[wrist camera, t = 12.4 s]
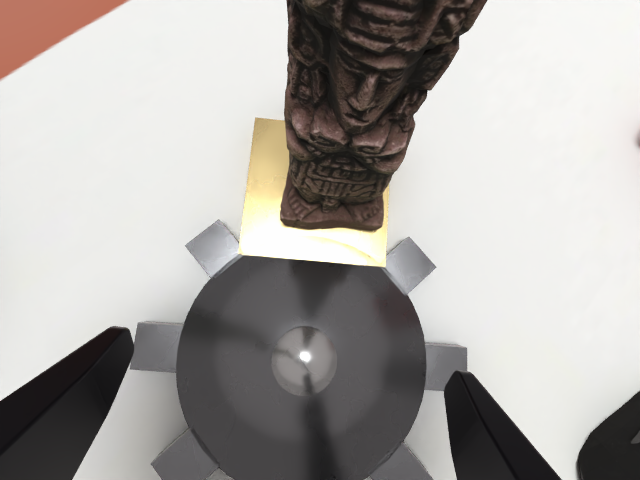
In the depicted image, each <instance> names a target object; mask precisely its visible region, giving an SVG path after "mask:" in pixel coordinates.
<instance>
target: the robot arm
mask: <svg viewBox="0 0 640 480" xmlns="http://www.w3.org/2000/svg"><path fill="white" fill-rule="evenodd" d="M133 354H134V343H133V340H132V337H131V333H130V330H129V329H128V328H125V327H118V326H112V327H110V328H108V329H106V330H105V331H103V332H102V333H100V334H99V335H97V336H96V337H94V338H93V339H91V340H90V341H89V342H87V343H86V344H84V345H83V346H81V347H80V348H78V349H77V350H75V351H74V352H72V353H71V354H69V355H68V356H66V357H65V358H63V359H62V360H60V361H59V362H57V363H56V364H54V365H53V366H51V367H50V368H49V369H47V370H46V371H44V372H43V373H41V374H40V375H38V376H37V377H35V378H34V379H32V380H31V381H29V382H28V383H26V384H25V385H23V386H22V387H20V388H19V389H17V390H16V391H14V392H13V393H12V394H10V395H9V396H7V397H6V398H4V399H3V400H1V401H0V480H72V479H73V477H74V475H75V473H76V472H77V470H78V468H79V466H80V464H81V462H82V461H83V459H84V457H85V455H86V453H87V451H88V450H89V448H90V446H91V444H92V442H93V440H94V439H95V437H96V435H97V433H98V431H99V429H100V428H101V426H102V424H103V422H104V420H105V418H106V416H107V414H108V413H109V410H110V408H111V406H112V404H113V402H114V399H115V397H116V395H117V392H118V390H119V387H120V385H121V383H122V380H123V378H124V376H125V373H126V371H127V368H128V366H129V364H130V361H131V359H132V357H133ZM444 398H445V406H446V414H447V423H448V431H449V439H450V447H451V453H452V458H453V463H454V468H455V472H456V477H457V480H562V479H561V478H560V477H559V476H558V475H557V474H556V472H555V471H554V470H553V469H552V468H551V466H550V465H549V464H548V463H547V462H546V460H545V459H544V458H543V457H542V456H541V454H540V453H539V452H538V451H537V450H536V449H535V447H534V446H533V445H532V444H531V443H530V441H529V440H528V439H527V438H526V437H525V435H524V434H523V433H522V432H521V431H520V429H519V428H518V427H517V426H516V425H515V424H514V422H513V421H512V420H511V419H510V418H509V416H508V415H507V414H506V413H505V412H504V410H503V409H502V408H501V407H500V406H499V404H498V403H497V402H496V401H495V400H494V399H493V397H492V396H491V395H490V394H489V393H488V391H487V390H486V389H485V388H484V387H483V385H482V384H481V383H480V382H479V381H478V379H477V378H476V377H475V376H474V375H473V374H472V373H471V372H468V371H461V370H456V371H454V372H453V374H452V376H451V377H450V379H449V380H448V382H447V384H446V385H445V388H444Z"/></svg>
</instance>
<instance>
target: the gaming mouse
mask: <svg viewBox="0 0 640 480" xmlns="http://www.w3.org/2000/svg"><path fill="white" fill-rule="evenodd" d="M579 467H580V473H581V479H582V480H640V391H639V392H638V393H637V394H635V395H634V396H633V397H632V398H631V399H630V400H629V401H628V402H626V403H625V404H624V405H623V406H622V407H621V408H619V409H618V410H617V411H616V412H614V413H613V414H612V415H611V416H609V417H608V418H607V419H605V420H604V421H603V422H602V423H601V424H600V425H599V426H598V427H597V428H596V429H594V430H593V431H592V432H591V433H590V435H589V437H588V438H587V440H586V442H585V443H584V445H583V447H582V449H581V451H580V453H579Z"/></svg>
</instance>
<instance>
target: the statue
mask: <svg viewBox="0 0 640 480" xmlns="http://www.w3.org/2000/svg"><path fill="white" fill-rule="evenodd" d="M486 2H487V0H287V11H288V24H289V26H288V57H289V63H288V65H287V72H288V79H287V88H286V91H285V108H284V116H285V129H286V142H287V149H288V150H289V169H288V174H287V178H286V186H285V189H284V192H283V197H282V201H281V204H280V208H281V210H280V221H282V222H283V224H284V225H286V226H292V227H297V228H303V229H326V228H335V227H347V228H354V229H358V230H370V231H372V230H378V229H380V228H381V227H382V226H383V220H384V201H383V192H384V191H385V189H386V188H387V186H388V184H389V182H390V180H391V177H392V175H393V174H394V172H395V171H397V169H398V168H399V166H400V164H401V163H402V161H403V159H404V157H405V154H406V150H407V147H408V145H409V142H410V139H411V136H412V134H413V131H414V128H415V122H414V119H413V115H414V114H415V113H416V112H417V111H418V109H419V108H420V106H421V105H422V103H423V102H424V101H425V99H426V97H427V90H432V88H433V87H434V86H435V84H436V83H437V82H438V80H439V79H440V78H441V76H442V75H443V73H444V72H445V71H446V69H447V68H448V67H449V65H450V63H451V62H452V60H453V58H454V56H455V55H456V53H457V51H458V50H459V36H460V35H462V34H464V33H465V32H467V31H469V29H470V28H471V27H472V26H473V24H474V22H475V20H476V19H477V17H478V15H479V14H480V12H481V10H482V9H483V7H484V5H485V3H486Z"/></svg>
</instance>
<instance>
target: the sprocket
mask: <svg viewBox="0 0 640 480" xmlns="http://www.w3.org/2000/svg"><path fill="white" fill-rule="evenodd" d="M288 169H289V150H288V149H287V142H286V129H285V121H282V120H273V119H263V118H255V124H254V132H253V140H252V148H251V156H250V164H249V172H248V180H247V187H246V195H245V203H244V211H243V219H242V227H241V235H240V243H239V242H238V241H237V240H236V238H235V237H234V236H233V235H232V234H231V232H230V231H229V230H228V229H227V228H226V226H225V225H224V224H223V223H222V222H221V221H220V220H217V221H216V222H215V223H214V224H212V225H211V226H210V227H208V228H207V229H206V230H204V231H203V232H202V233H200V234H199V235H198V236H197V237H195V238H194V239H193V240H191V241H190V242H189V243H187V244H186V245H185V246H186V248H187V249H188V250H189V251H190V253H191V254H192V255H193V256H194V257H195V259H196V260H197V261H198V262H199V264H200V265H201V266H202V267H203V269H204V270H205V271H206V272H207V274H208V275H209V276H210V277H211V279H210V280H209V281H208V282H207V283H206V285H205V286H204V287H203V289H202V290H201V292H200V293H199V295H198V296H197V298H196V299H195V301H194V303H193V305H192V307H191V309H190V311H189V313H188V315H187V317H186V320H185V323H184V324H174V323H161V322H148V321H146V322H140V323H138V325H137V331H136V336H135V342H134V354H133V357H132V359H131V365H130V369H133V370H148V371H162V372H176V377H177V388H178V394H179V400H180V404H181V407H182V410H183V413H184V417H185V419H186V422H187V424H188V426H189V428H188V429H187V430H186V431H185V432H184V433H183V434H182V435H180V436H179V437H178V438H177V439H176V440H175V441H174V442H172V443H171V444H170V445H169V446H168V447H167V448H166V449H164V450H163V451H162V452H161V453H160V454H159V455H158V456H157V457H156V458H155V459H154V460H153V462H152V463H151V465H152V466H153V468H154V469H155V470H156V472H157V473H158V474H159V476H160V477H161V479H162V480H205V479H206V478H207V477H208V476H209V475H210V474H212V473H213V472H214V471H215V470H216V469H217V468H218V467H219V468H220V469H221V470H222V471H224V472H225V473H226V474H227V475H229V476H230V477H232V478H233V479H235V480H364V479H365V478H367V477H368V476H370V477H371V478H372V479H373V480H433V479H432V477H431V476H430V474H429V473H428V472H427V470H426V469H425V468H424V467H423V465H422V464H421V463H420V462H419V461H418V459H417V458H416V457H415V456H414V455H413V453H412V452H411V451H410V450H409V448H408V447H407V446H406V445H405V444H404V442H403V441H404V439H405V438H406V436H407V435H408V433H409V431H410V429H411V427H412V425H413V423H414V421H415V419H416V417H417V414H418V411H419V408H420V405H421V402H422V398H423V393H424V390H436V391H444V388H445V385H446V384H447V382H448V380H449V379H450V377H451V376H452V374H453V372H454V371H456V370H461V371H467V348H466V347H463V346H460V345H450V344H437V343H425V341H424V335H423V331H422V328H421V324H420V321H419V318H418V315H417V313H416V311H415V308H414V306H413V304H412V302H411V300H410V299H409V297H408V295H407V294H408V293H409V292H410V291H411V290H412V289H413V288H414V287H416V286H417V285H418V284H419V283H420V282H421V281H422V280H423V279H424V278H425V277H426V276H428V275H429V274H430V273H431V272H432V271H433V270H434V269H435V268H436V266H435V265H434V264H433V263H432V262H431V261H430V260H429V258H428V257H427V256H426V255H425V254H424V253H423V252H422V251H421V249H420V248H419V247H418V246H417V245H416V244H415V243H414V242H413V240H412V239H411V238H410V237H408V238H406V239H404V240H403V241H402V242H401V243H399V244H398V245H397V246H396V247H395V248H394V249H393V250H391V251H390V252H389V253H388V254H387V255H386V244H387V221H388V198H389V184H388V186H387V188H386V189H385V191H384V192H383V201H384V220H383V226H382V227H381V228H380V229H378V230H372V231H370V230H358V229H354V228H347V227H335V228H326V229H303V228H297V227H292V226H286V225H284V224H283V222H282V221H280V210H281V208H280V204H281V201H282V197H283V192H284V189H285V186H286V178H287V174H288Z"/></svg>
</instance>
